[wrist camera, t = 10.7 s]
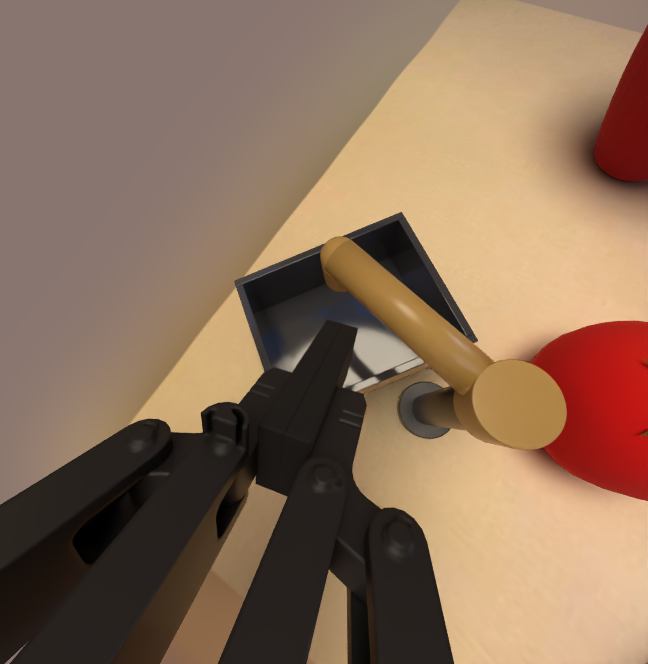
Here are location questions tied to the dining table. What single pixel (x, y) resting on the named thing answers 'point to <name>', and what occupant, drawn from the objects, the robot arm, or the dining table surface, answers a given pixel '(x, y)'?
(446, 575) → the dining table surface
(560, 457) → the tomato
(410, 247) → the sink
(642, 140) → the vase
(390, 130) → the dining table surface
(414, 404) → the faucet base
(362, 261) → the faucet spout
